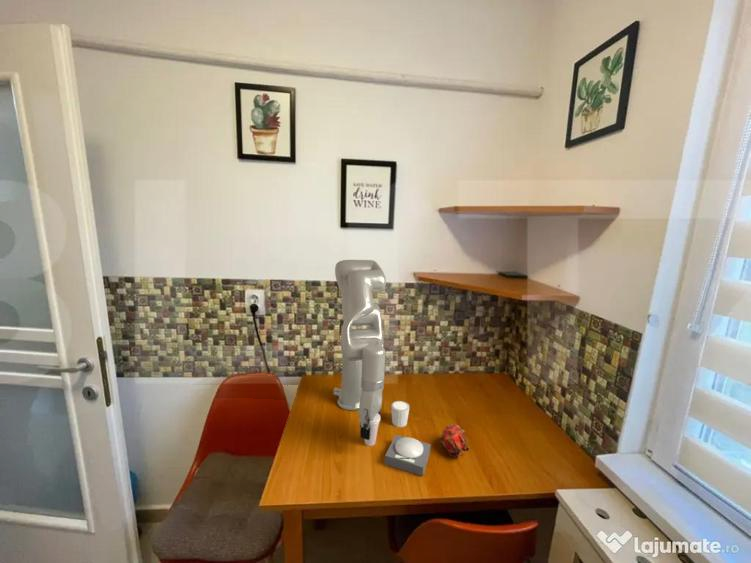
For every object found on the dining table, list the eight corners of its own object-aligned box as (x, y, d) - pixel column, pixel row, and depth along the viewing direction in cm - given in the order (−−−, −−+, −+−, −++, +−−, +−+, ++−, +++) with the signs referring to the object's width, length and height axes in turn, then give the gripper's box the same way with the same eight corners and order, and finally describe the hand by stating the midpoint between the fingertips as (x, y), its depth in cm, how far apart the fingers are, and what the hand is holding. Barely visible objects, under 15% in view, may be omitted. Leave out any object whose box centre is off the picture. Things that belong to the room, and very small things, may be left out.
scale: (384, 464, 96) (385, 453, 96) (395, 442, 107) (395, 432, 106) (422, 476, 92) (423, 465, 92) (430, 452, 102) (430, 442, 102)
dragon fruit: (451, 441, 111) (457, 470, 100) (433, 428, 110) (437, 456, 99) (468, 426, 109) (476, 455, 97) (449, 413, 108) (455, 440, 96)
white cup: (389, 417, 121) (390, 400, 120) (406, 417, 122) (407, 400, 120) (391, 428, 114) (392, 410, 113) (410, 428, 115) (411, 410, 114)
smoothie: (381, 438, 108) (383, 401, 106) (375, 450, 102) (377, 411, 100) (364, 434, 110) (366, 397, 108) (357, 445, 104) (359, 407, 102)
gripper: (371, 370, 112) (369, 413, 115) (350, 392, 96) (349, 442, 99) (391, 374, 109) (389, 418, 112) (373, 397, 93) (371, 449, 96)
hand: (370, 429), depth 105 cm, fingers open, 9 cm apart
